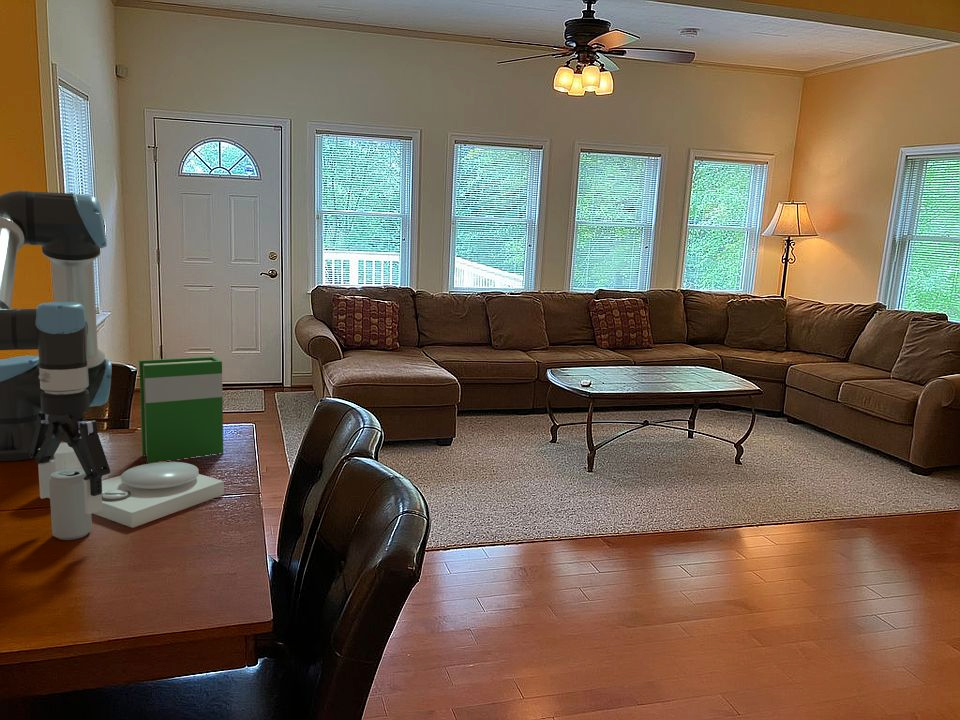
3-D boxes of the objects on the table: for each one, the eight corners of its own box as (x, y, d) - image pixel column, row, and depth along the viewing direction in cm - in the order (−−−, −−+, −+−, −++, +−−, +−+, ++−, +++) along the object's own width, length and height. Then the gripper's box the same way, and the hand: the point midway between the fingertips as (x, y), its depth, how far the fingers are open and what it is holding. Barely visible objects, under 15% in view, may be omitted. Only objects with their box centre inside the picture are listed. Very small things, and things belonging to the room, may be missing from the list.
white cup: (44, 503, 147) (41, 455, 146) (37, 491, 153) (34, 445, 151) (87, 495, 152) (85, 449, 151) (79, 484, 158) (77, 440, 156)
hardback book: (147, 464, 173) (144, 365, 169) (142, 455, 180) (139, 360, 175) (223, 454, 183) (222, 361, 179) (215, 446, 189) (214, 356, 185)
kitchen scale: (68, 504, 147) (67, 481, 146) (162, 475, 166) (161, 454, 165) (132, 527, 137) (131, 502, 137) (224, 494, 156) (223, 472, 156)
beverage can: (74, 543, 130) (71, 479, 128) (43, 539, 131) (39, 475, 129) (99, 530, 136) (97, 468, 134) (70, 525, 137) (66, 465, 135)
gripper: (3, 383, 131) (10, 495, 135) (88, 403, 119) (93, 525, 123) (44, 377, 138) (50, 484, 141) (129, 396, 126) (133, 512, 129)
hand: (70, 504), depth 132 cm, fingers open, 13 cm apart
